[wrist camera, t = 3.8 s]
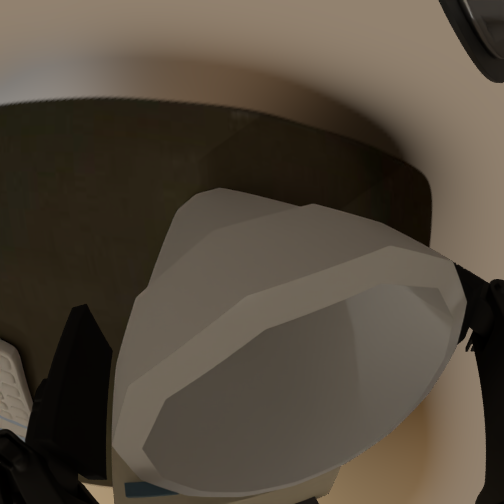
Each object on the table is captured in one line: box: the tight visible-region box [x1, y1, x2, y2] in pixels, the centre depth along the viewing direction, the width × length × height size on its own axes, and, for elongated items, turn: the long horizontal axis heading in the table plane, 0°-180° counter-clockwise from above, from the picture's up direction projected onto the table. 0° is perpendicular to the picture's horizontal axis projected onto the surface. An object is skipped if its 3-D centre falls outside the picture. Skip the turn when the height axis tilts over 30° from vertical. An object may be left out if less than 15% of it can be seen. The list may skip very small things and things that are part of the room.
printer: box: [112, 447, 341, 504], centre depth 21 cm, size 20×14×12 cm
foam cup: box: [112, 188, 467, 497], centre depth 11 cm, size 10×9×13 cm
